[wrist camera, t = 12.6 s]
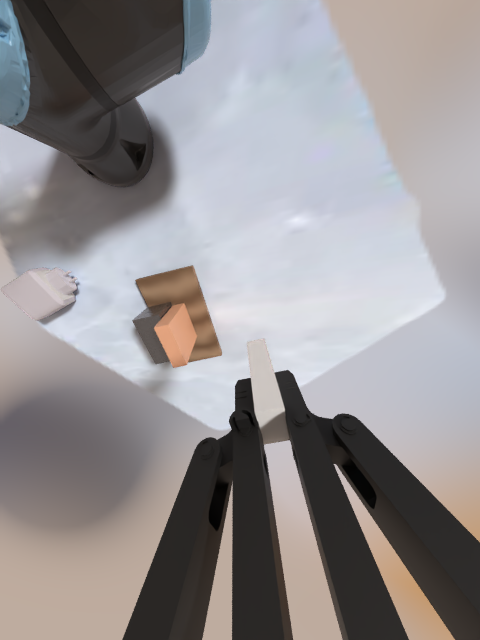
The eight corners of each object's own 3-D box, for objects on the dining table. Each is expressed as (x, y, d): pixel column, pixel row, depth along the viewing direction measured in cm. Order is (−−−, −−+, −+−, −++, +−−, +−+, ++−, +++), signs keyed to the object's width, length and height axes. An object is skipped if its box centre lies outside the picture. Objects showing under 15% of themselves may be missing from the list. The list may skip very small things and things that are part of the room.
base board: (138, 278, 44) (135, 280, 43) (193, 265, 43) (191, 266, 42) (177, 361, 55) (176, 364, 54) (222, 352, 54) (221, 355, 53)
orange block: (150, 310, 46) (124, 334, 35) (184, 302, 45) (168, 324, 35) (166, 343, 50) (147, 373, 39) (197, 336, 50) (186, 365, 39)
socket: (148, 306, 46) (132, 320, 39) (170, 301, 45) (158, 314, 38) (166, 345, 51) (155, 364, 44) (187, 341, 51) (179, 359, 43)
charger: (96, 289, 45) (52, 314, 48) (65, 254, 42) (20, 283, 44) (81, 295, 41) (34, 322, 44) (46, 256, 37) (-3, 288, 40)
